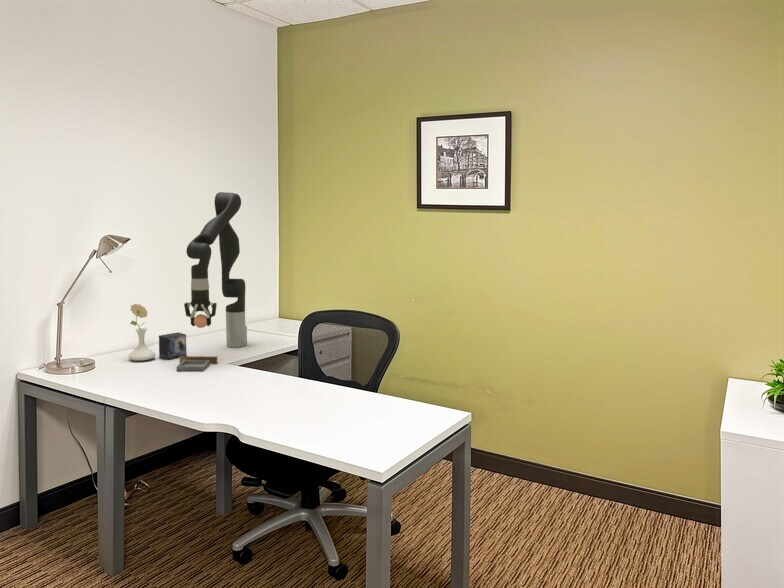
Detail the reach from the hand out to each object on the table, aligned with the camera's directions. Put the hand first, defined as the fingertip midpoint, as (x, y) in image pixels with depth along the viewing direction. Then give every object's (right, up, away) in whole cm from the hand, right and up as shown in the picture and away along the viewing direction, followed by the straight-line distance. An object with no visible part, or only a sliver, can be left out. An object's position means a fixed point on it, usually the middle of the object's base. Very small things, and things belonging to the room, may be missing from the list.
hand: (201, 325), depth 284 cm
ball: (0, -1, 0) cm, 1 cm away
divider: (0, -16, -4) cm, 17 cm away
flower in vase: (-27, -15, +2) cm, 31 cm away
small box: (-15, -15, +7) cm, 22 cm away
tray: (0, -17, -12) cm, 21 cm away
